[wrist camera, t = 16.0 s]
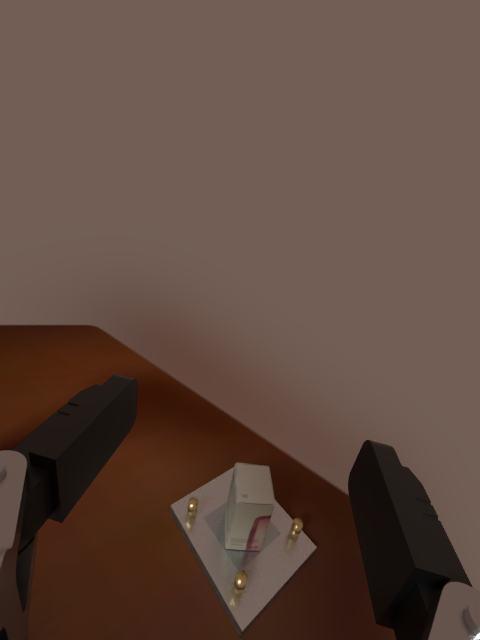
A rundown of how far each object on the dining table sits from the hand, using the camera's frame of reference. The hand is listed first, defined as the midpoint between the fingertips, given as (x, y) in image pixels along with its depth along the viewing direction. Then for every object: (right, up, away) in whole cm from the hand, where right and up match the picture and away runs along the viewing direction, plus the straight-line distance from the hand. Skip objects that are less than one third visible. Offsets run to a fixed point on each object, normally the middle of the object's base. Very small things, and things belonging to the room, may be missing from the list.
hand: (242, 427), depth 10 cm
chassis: (0, -23, +25) cm, 34 cm away
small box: (0, -22, +25) cm, 33 cm away
